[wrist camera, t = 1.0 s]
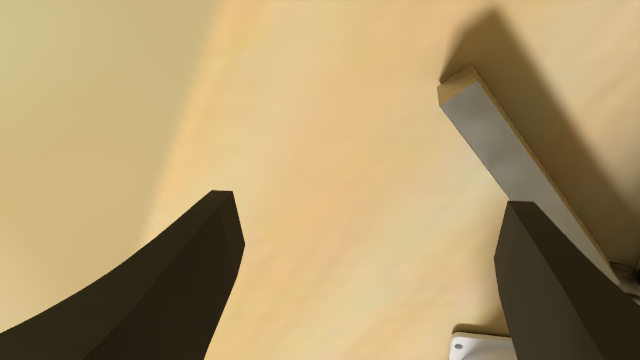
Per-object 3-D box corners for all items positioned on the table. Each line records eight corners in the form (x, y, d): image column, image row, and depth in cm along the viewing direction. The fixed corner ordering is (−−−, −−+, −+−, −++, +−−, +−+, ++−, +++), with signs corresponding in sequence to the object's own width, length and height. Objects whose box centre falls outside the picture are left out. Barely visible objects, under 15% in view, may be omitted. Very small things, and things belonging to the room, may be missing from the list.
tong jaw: (643, 293, 24) (666, 329, 22) (592, 310, 26) (608, 346, 24) (480, 57, 20) (488, 74, 17) (428, 93, 21) (429, 113, 19)
